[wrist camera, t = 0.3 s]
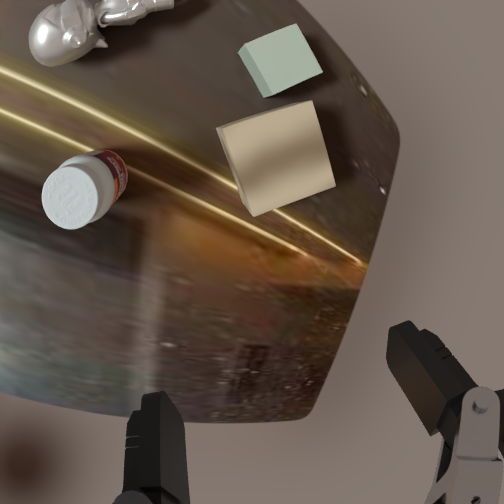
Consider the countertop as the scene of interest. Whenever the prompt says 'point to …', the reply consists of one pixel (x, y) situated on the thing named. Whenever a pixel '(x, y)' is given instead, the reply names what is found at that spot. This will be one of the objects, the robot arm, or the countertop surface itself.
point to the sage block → (279, 60)
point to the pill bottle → (84, 188)
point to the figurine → (82, 26)
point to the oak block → (277, 156)
